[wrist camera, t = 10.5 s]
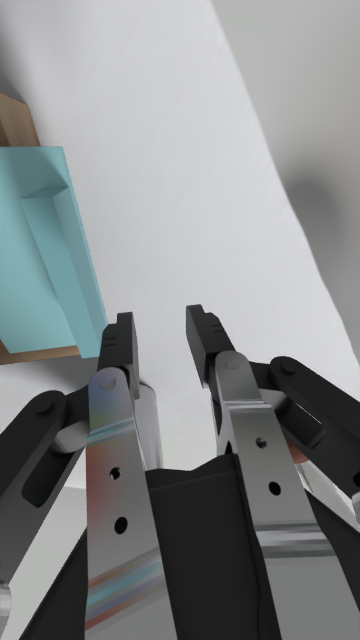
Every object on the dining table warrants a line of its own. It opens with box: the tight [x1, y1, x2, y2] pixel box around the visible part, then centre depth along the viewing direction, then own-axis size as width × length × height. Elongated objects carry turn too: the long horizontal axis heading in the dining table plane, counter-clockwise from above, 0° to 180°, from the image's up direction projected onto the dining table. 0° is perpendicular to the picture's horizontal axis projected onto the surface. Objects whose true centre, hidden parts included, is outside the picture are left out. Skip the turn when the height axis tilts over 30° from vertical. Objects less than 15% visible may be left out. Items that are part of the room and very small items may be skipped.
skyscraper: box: [295, 460, 360, 532], centre depth 56 cm, size 8×8×28 cm
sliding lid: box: [0, 146, 108, 359], centre depth 16 cm, size 15×9×5 cm, turn 0°
